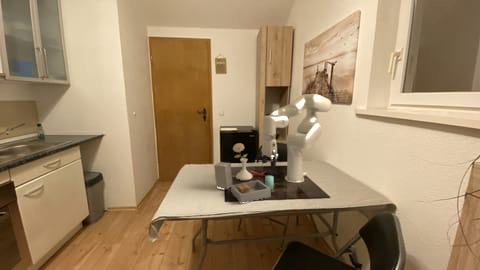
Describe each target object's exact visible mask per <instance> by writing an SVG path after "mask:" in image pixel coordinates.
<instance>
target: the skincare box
mask: <svg viewBox="0 0 480 270" xmlns="http://www.w3.org/2000/svg"><path fill="white" fill-rule="evenodd" d="M213 166H214V167H213V168H214V175H215V176H214V177H215V184H216V186H218V187H221V188H226V189H228V188H229V187H231V185H234V184H233V176H232V173H233V172H232V164H231V162H223V161H219V162H218V163H216V164H214V165H213Z"/></svg>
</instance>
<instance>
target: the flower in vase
mask: <svg viewBox="0 0 480 270" xmlns="http://www.w3.org/2000/svg"><path fill="white" fill-rule="evenodd" d="M244 145H245V144H243V143H241V142H239V143H236V144H234V145H233V147H232V150H233V152H236V153H239V154H236V155H234V158H237V159H238V158H240V159H239V160H240V162H241V165H242V166H241V167H242V168H241V170H240V171H239V172H238V173H237V174H236V176H235V178H236V180H239V179H240V180H239V181H249V180H251V179H253V174H252V173H251V172H249V171H248V170H247V165H246V164H247V162H248V158H246V157H247V155H248V153H246V154H243V156H241V151H244V150H245V146H244Z"/></svg>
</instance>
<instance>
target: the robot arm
mask: <svg viewBox="0 0 480 270" xmlns="http://www.w3.org/2000/svg"><path fill="white" fill-rule="evenodd" d="M331 109H332V101H331V100H330V99H329V98H326V97H325V96H323V95H320V94H318V93H317V94H316V93H307V94H306V93H305V94H301V95H300V96H299V97H297V98H296V99H295V100H293V101H292V102H291V103H289V104H287V105H284V106H283V107H280V108H278V109H276V110H274V111H273V112H271V113H270V114H269V115H264V116H263V117H262V141H261V142H262V145H261V146H262V147H261V148H260V151H261V152H260V153H261V163H262V164H267V163H268V158H269V159H270V160H271V161H270V169H275V168H276V167H277V161H278V160H277V159H278V157H279V154H278V145H277V140H276V137H277V133H276V131H277V128H278V129H285V128H287V127H288V126H289V124H290V120H289V118H292V117H297V116H299V115H301V113H302V112H303V111H305V110H306V115H305V117H304V118H303V120H302V121H301V122H300V123H299V124H298V125H297V128H296V132H290V133H288V134H287V135H286V138H285V142H286V143H285V144H286V148H287V150H286V151H287V160H286V161H287V165H286V167H287V169H286V170H287V171H286V172H287V174H286V175H285V176H284V180H285V181H286V182H289V183H291V184H293V183H294V184H299V183H303V182H305V176H308V175H309V173H308V172H303V151H302V150H306V151H307V150H310V149H311V148H312V147H313V146H314V144H316V142H317V141H318V139H319V138H320V137H321V135H322V132H323V127H322V125H321V124H320V123H319V118H318V116H317V113H328V112H329V111H330V110H331Z"/></svg>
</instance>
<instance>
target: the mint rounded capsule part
mask: <svg viewBox="0 0 480 270" xmlns="http://www.w3.org/2000/svg"><path fill="white" fill-rule="evenodd" d="M264 180H265V181H264V184H265V185H266V186H268V187H269V188H271V189H272V190H274V183H275V182H274V176H273V175H265V178H264Z"/></svg>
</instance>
